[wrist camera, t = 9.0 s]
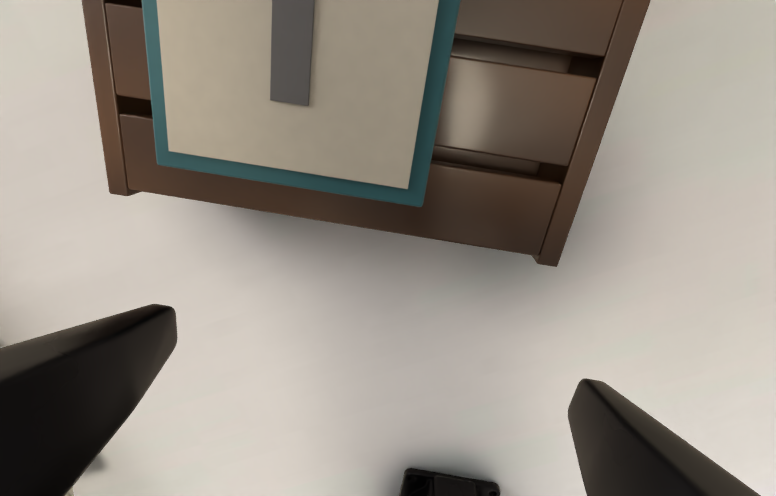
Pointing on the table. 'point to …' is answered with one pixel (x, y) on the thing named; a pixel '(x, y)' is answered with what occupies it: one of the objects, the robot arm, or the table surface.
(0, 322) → the table surface
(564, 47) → the rack
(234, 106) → the tissue box
